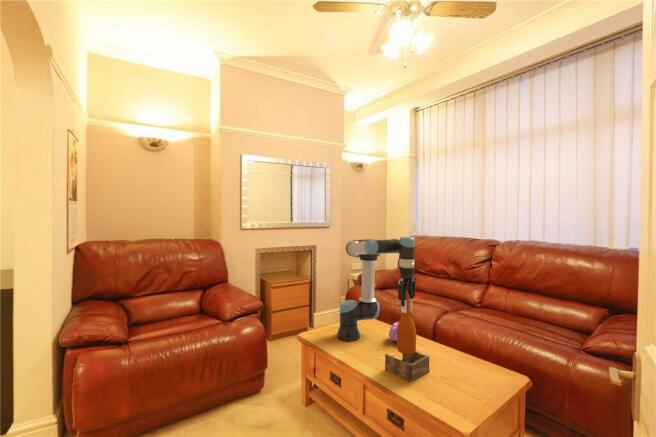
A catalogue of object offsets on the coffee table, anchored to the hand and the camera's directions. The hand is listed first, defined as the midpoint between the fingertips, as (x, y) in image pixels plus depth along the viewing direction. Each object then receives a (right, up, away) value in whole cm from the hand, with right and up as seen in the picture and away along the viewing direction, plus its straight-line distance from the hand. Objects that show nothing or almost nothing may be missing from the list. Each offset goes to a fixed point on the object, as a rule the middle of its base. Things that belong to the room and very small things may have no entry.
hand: (406, 311), depth 163 cm
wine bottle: (0, -21, 0) cm, 21 cm away
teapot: (+6, -31, +39) cm, 50 cm away
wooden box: (0, -31, 0) cm, 31 cm away
